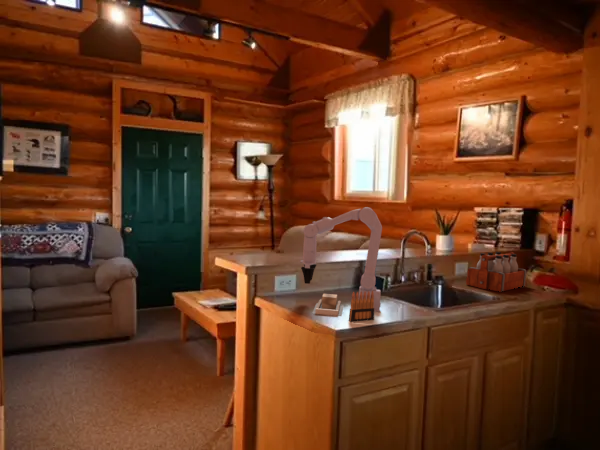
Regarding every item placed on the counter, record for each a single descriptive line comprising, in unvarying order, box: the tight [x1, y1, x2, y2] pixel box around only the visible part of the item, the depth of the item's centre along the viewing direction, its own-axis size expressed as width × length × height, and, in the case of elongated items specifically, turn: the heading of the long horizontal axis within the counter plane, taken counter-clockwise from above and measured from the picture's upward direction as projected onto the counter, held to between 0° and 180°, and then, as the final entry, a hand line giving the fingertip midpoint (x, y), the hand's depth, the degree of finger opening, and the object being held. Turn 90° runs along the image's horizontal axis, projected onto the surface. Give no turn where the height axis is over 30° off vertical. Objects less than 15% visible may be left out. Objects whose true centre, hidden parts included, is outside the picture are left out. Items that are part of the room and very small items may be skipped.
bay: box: [311, 298, 344, 317], centre depth 202 cm, size 12×18×2 cm, turn 172°
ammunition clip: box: [348, 290, 375, 323], centre depth 188 cm, size 11×2×12 cm, turn 116°
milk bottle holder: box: [465, 251, 527, 293], centre depth 276 cm, size 21×35×19 cm, turn 130°
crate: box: [321, 293, 338, 309], centre depth 206 cm, size 6×6×5 cm
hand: (308, 281), depth 211 cm, fingers open, 7 cm apart
